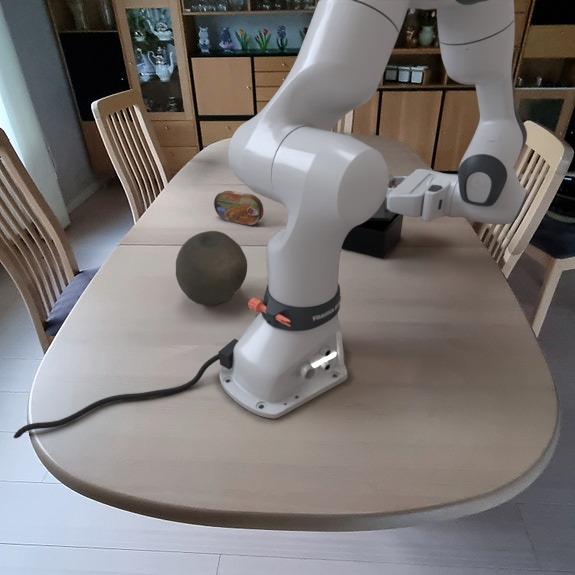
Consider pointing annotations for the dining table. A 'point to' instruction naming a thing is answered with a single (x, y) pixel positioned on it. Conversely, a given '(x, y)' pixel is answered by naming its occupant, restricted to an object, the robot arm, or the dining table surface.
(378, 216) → the bin lid
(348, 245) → the bin
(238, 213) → the tin
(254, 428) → the dining table surface
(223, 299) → the dark brown ball
